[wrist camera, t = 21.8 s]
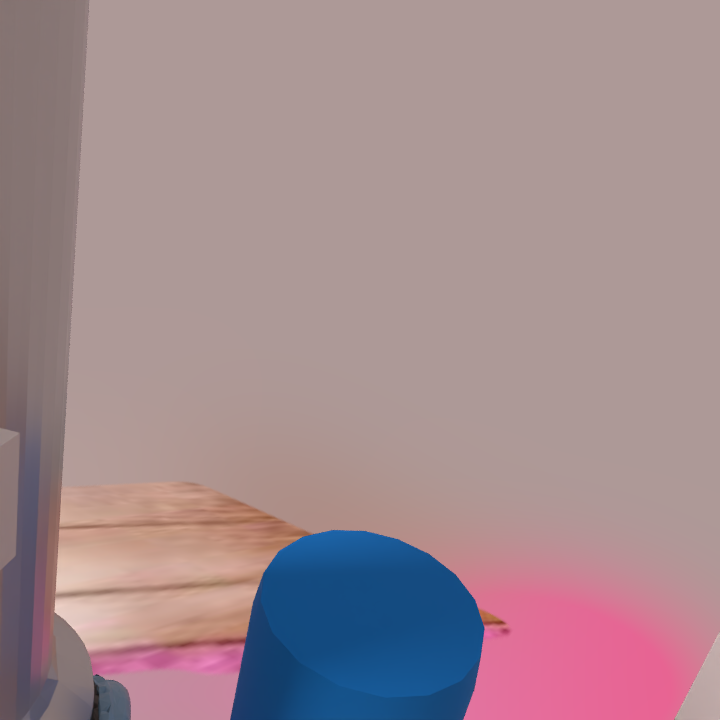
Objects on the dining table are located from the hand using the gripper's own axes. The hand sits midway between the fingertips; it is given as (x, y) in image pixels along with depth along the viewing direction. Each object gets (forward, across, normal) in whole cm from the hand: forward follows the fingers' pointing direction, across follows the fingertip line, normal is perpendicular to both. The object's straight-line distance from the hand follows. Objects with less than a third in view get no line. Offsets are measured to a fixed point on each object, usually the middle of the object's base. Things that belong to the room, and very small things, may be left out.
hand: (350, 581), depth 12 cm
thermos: (+14, +2, -37) cm, 40 cm away
